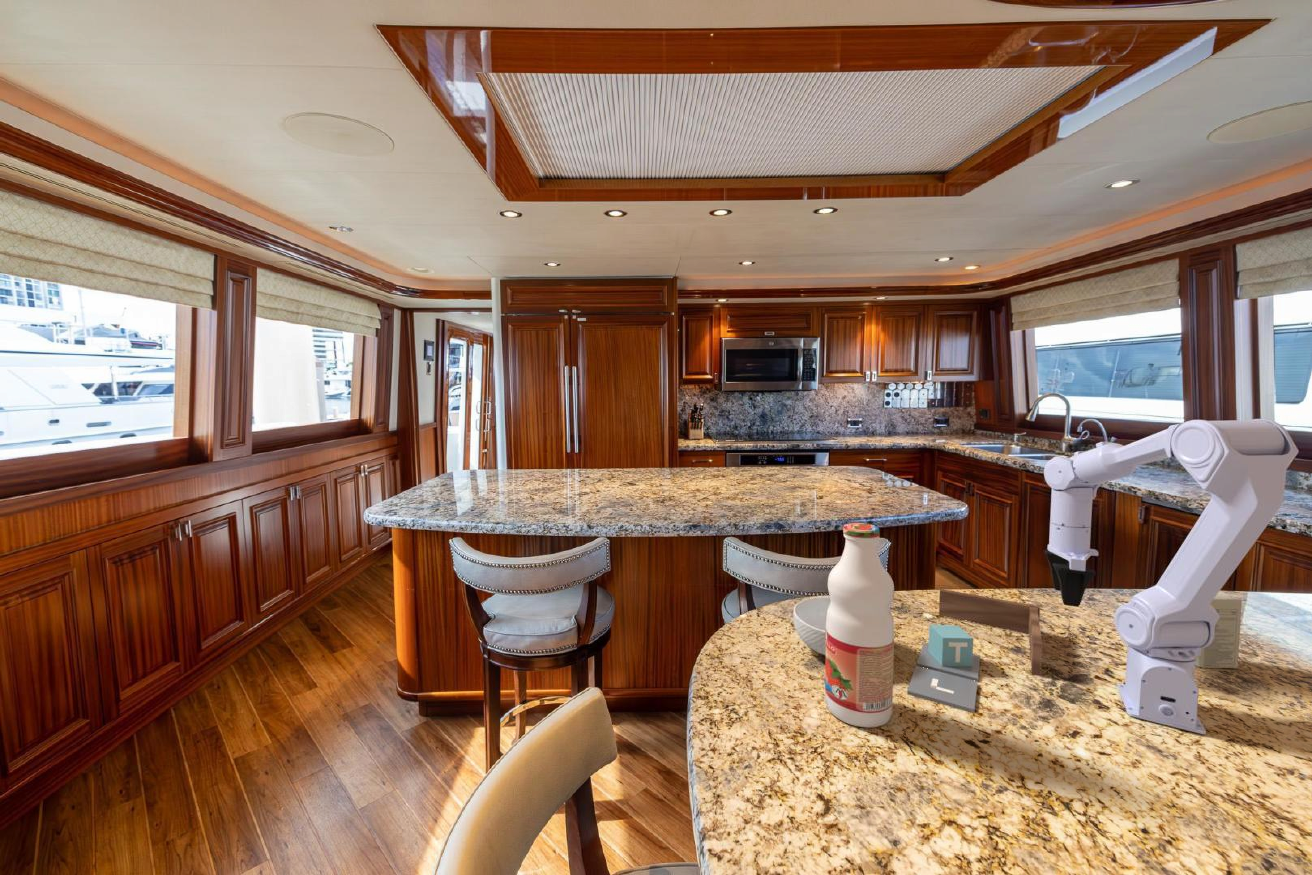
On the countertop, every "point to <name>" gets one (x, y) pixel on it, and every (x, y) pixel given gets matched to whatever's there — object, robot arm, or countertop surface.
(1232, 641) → the skincare box
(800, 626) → the cereal bowl
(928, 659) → the tile
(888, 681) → the fruit juice
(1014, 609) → the walnut screen
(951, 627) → the light blue cube
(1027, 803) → the countertop surface
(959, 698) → the tile
